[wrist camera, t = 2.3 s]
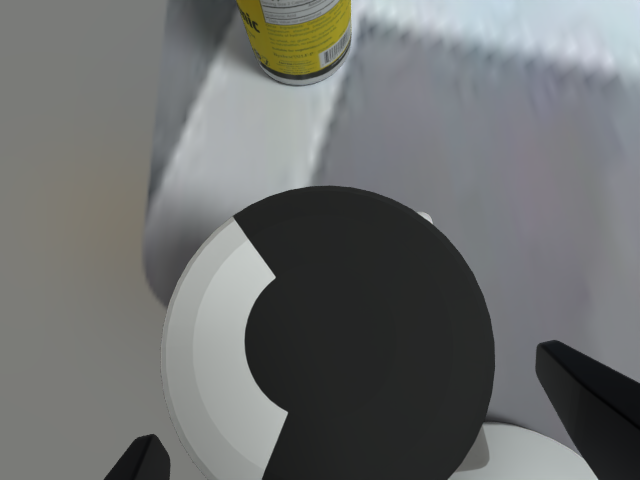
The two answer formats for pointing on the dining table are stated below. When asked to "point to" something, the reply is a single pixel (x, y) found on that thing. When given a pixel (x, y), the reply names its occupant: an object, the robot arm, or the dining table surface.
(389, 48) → the dining table surface
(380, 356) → the medicine bottle
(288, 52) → the supplement bottle
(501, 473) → the white round dome
